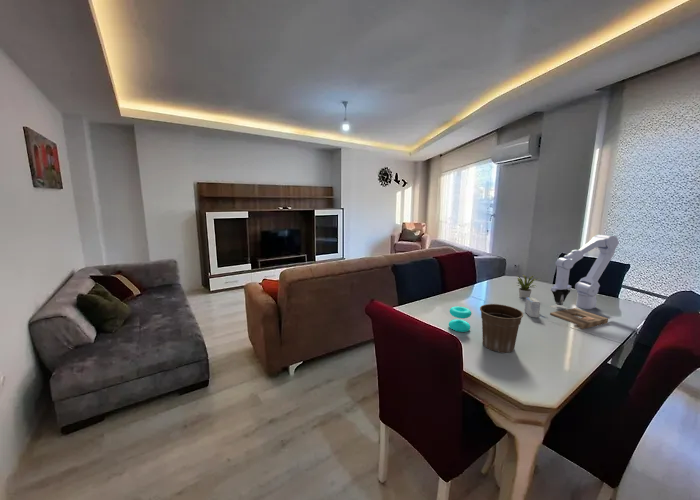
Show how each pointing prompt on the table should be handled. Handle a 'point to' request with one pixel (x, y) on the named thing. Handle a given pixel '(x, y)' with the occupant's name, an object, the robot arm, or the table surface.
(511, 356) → the table surface
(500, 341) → the plant pot
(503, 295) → the table surface
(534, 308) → the medicine box
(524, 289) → the house plant
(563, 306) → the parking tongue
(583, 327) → the hole plate
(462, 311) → the donuts
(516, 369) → the table surface
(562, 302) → the steel peg
